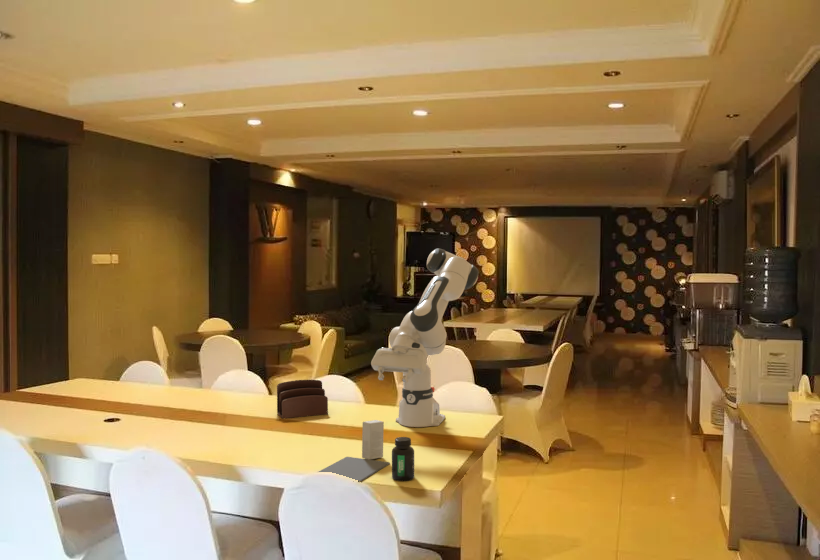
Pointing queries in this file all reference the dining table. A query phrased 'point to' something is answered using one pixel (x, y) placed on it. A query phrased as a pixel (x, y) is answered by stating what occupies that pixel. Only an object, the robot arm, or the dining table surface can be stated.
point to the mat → (356, 467)
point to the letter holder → (301, 399)
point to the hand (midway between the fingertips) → (392, 380)
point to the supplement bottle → (403, 460)
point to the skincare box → (372, 439)
